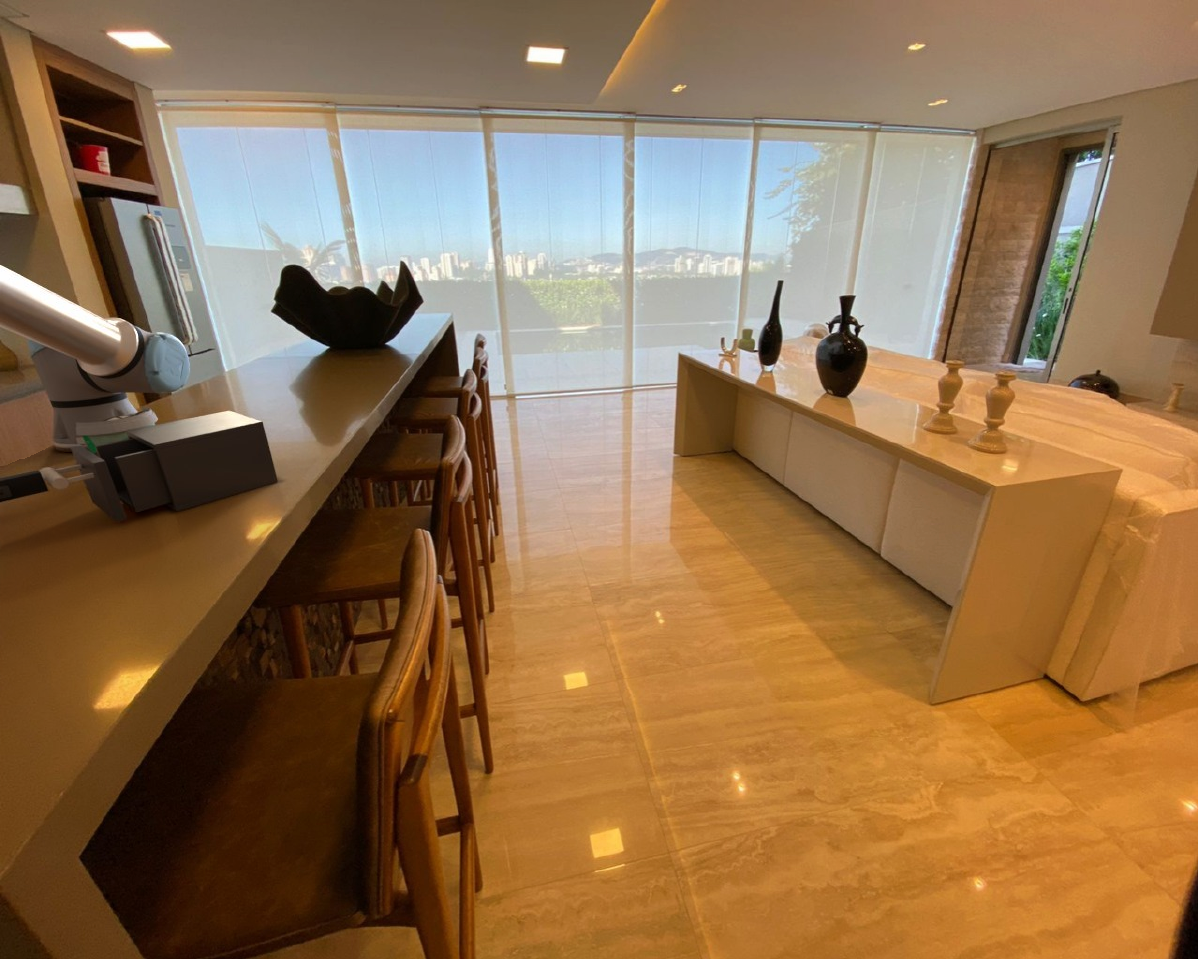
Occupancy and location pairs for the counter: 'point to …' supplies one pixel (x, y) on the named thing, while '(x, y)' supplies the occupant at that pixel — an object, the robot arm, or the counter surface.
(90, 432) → the food container
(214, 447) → the cabinet
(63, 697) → the counter surface
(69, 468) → the drawer
